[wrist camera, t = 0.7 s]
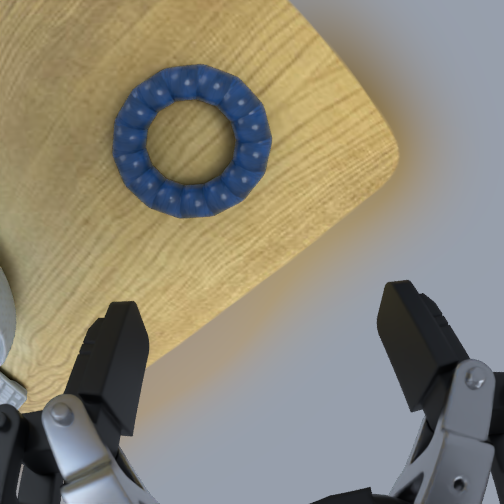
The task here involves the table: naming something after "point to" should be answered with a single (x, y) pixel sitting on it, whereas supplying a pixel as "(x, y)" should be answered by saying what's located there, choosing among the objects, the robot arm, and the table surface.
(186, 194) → the blue teething ring
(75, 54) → the table surface
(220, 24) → the table surface
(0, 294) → the cereal bowl
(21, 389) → the keyboard
